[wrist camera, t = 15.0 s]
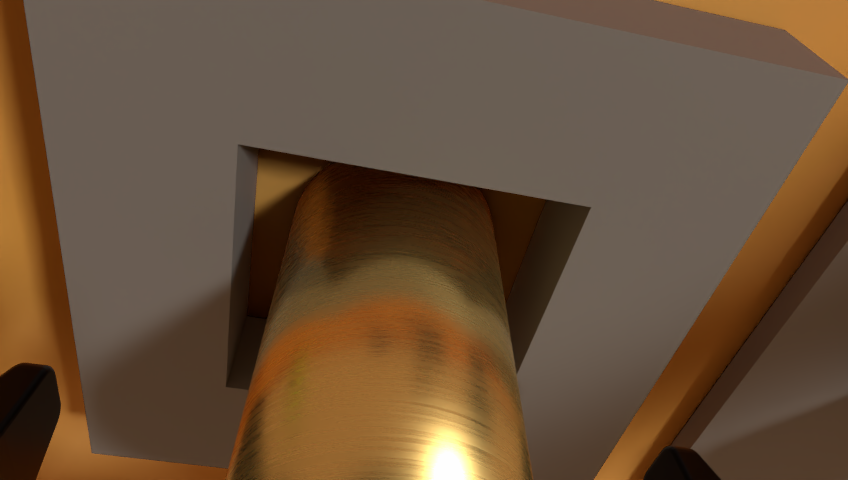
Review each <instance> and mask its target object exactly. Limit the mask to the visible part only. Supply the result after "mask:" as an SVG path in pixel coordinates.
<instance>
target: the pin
mask: <svg viewBox="0 0 848 480" xmlns="http://www.w3.org/2000/svg"><path fill="white" fill-rule="evenodd" d="M225 480H533V475H532V469H531V463H530V456H529V450H528V444H527V437H526V431H525V425H524V418H523V412H522V406H521V399H520V393H519V387H518V380H517V374H516V368H515V361H514V355H513V348H512V342H511V336H510V329H509V323H508V317H507V310H506V304H505V298H504V291H503V285H502V279H501V272H500V266H499V260H498V253H497V247H496V241H495V234H494V228H493V222H492V217H491V213H490V209H489V207H488V204H487V202H486V199H485V198H484V196H483V194H482V193H481V191H480V190H479V188H478V187H474V186H469V185H463V184H458V183H452V182H446V181H441V180H435V179H430V178H424V177H418V176H413V175H407V174H402V173H396V172H390V171H385V170H379V169H374V168H368V167H362V166H357V165H351V164H346V163H340V162H335V163H333V164H331V165H330V166H328V167H327V168H325V169H324V170H322V171H321V172H320V173H319V174H318V175H317V176H316V177H315V178H314V179H313V180H312V181H311V182H310V183H309V185H308V186H307V187H306V188H305V190H304V192H303V194H302V195H301V197H300V199H299V202H298V204H297V207H296V210H295V214H294V218H293V222H292V226H291V229H290V233H289V237H288V241H287V245H286V249H285V252H284V256H283V260H282V264H281V268H280V272H279V275H278V279H277V283H276V287H275V291H274V295H273V299H272V302H271V306H270V310H269V314H268V318H267V322H266V325H265V329H264V333H263V337H262V341H261V345H260V348H259V352H258V356H257V360H256V364H255V368H254V372H253V375H252V379H251V383H250V387H249V391H248V395H247V398H246V402H245V406H244V410H243V414H242V418H241V421H240V425H239V429H238V433H237V437H236V441H235V444H234V448H233V452H232V456H231V460H230V464H229V468H228V471H227V475H226V479H225Z"/></svg>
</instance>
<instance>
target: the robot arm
mask: <svg viewBox="0 0 848 480" xmlns="http://www.w3.org/2000/svg"><path fill="white" fill-rule="evenodd" d="M60 409H61V403H60V397H59V392H58V386H57V381H56V376H55V372H54V370H53V368H52V367H50V366H47V365H40V364H32V363H20V364H17V365H15V366H14V367H12V368H11V369H9V370H8V371H6V372H5V373H4V374H2V375H1V376H0V480H36V478H37V475H38V472H39V470H40V467H41V464H42V462H43V459H44V456H45V454H46V451H47V448H48V446H49V443H50V440H51V438H52V435H53V432H54V430H55V427H56V424H57V422H58V419H59V415H60ZM644 480H721V479H720V478H719V476H718V475H717V474H716V473H715V472H714V471H713V470H712V468H711V467H710V466H709V465H708V464H707V463H706V462H705V461H704V459H703V458H702V457H701V456H700V455H699V454H698V453H697V452H696V451H694V450H693V449H690V448H686V447H678V446H667V447H665V448H664V449H663V450H662V451H661V453H660V454H659V456H658V457H657V458H656V460H655V461H654V463H653V464H652V465H651V467H650V468H649V470H648V471H647V472H646V474H645V477H644Z"/></svg>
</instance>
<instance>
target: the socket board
mask: <svg viewBox="0 0 848 480" xmlns="http://www.w3.org/2000/svg"><path fill="white" fill-rule="evenodd" d="M23 1H24V8H25V14H26V21H27V28H28V34H29V41H30V48H31V54H32V61H33V67H34V74H35V81H36V87H37V94H38V100H39V107H40V114H41V120H42V127H43V134H44V140H45V147H46V153H47V160H48V167H49V173H50V180H51V187H52V193H53V200H54V206H55V213H56V220H57V226H58V233H59V239H60V246H61V253H62V259H63V266H64V273H65V279H66V286H67V292H68V299H69V306H70V312H71V319H72V325H73V332H74V339H75V345H76V352H77V359H78V365H79V372H80V378H81V385H82V392H83V398H84V405H85V412H86V418H87V425H88V431H89V438H90V445H91V451H92V453H95V454H104V455H113V456H121V457H130V458H139V459H148V460H157V461H166V462H174V463H183V464H192V465H201V466H210V467H219V468H227V469H228V468H229V464H230V460H231V456H232V452H233V448H234V444H235V441H236V437H237V433H238V429H239V425H240V421H241V418H242V414H243V410H244V406H245V402H246V398H247V395H248V391H249V387H250V383H251V379H252V375H253V372H254V368H255V364H256V360H257V356H258V352H259V348H260V345H261V341H262V337H263V333H264V329H265V325H266V322H267V319H263V318H256V317H249V316H247V308H248V294H249V279H250V265H251V251H252V237H253V223H254V209H255V195H256V181H257V166H258V152H259V148H262V149H267V150H273V151H278V152H284V153H290V154H295V155H301V156H306V157H312V158H318V159H323V160H329V161H334V162H340V163H346V164H351V165H357V166H362V167H368V168H374V169H379V170H385V171H390V172H396V173H402V174H407V175H413V176H418V177H424V178H430V179H435V180H441V181H446V182H452V183H458V184H463V185H469V186H474V187H480V188H486V189H491V190H497V191H502V192H508V193H514V194H519V195H525V196H530V197H536V198H542V199H547V200H546V203H545V205H544V208H543V210H542V213H541V216H540V218H539V221H538V223H537V226H536V228H535V231H534V233H533V236H532V239H531V241H530V244H529V246H528V249H527V251H526V254H525V256H524V259H523V262H522V264H521V267H520V269H519V272H518V274H517V277H516V279H515V282H514V284H513V287H512V290H511V292H510V295H509V297H508V300H507V302H506V310H507V317H508V323H509V329H510V336H511V342H512V348H513V355H514V361H515V368H516V374H517V380H518V387H519V393H520V399H521V406H522V412H523V418H524V425H525V431H526V437H527V444H528V450H529V456H530V463H531V469H532V475H533V480H594V478H595V477H596V475H597V473H598V472H599V470H600V469H601V467H602V466H603V464H604V463H605V461H606V459H607V458H608V456H609V455H610V453H611V452H612V450H613V449H614V447H615V445H616V444H617V442H618V441H619V439H620V438H621V436H622V434H623V433H624V431H625V430H626V428H627V427H628V425H629V424H630V422H631V420H632V419H633V417H634V416H635V414H636V413H637V411H638V410H639V408H640V406H641V405H642V403H643V402H644V400H645V399H646V397H647V395H648V394H649V392H650V391H651V389H652V388H653V386H654V385H655V383H656V381H657V380H658V378H659V377H660V375H661V374H662V372H663V370H664V369H665V367H666V366H667V364H668V363H669V361H670V360H671V358H672V356H673V355H674V353H675V352H676V350H677V349H678V347H679V346H680V344H681V342H682V341H683V339H684V338H685V336H686V335H687V333H688V331H689V330H690V328H691V327H692V325H693V324H694V322H695V321H696V319H697V317H698V316H699V314H700V313H701V311H702V310H703V308H704V306H705V305H706V303H707V302H708V300H709V299H710V297H711V296H712V294H713V292H714V291H715V289H716V288H717V286H718V285H719V283H720V282H721V280H722V278H723V277H724V275H725V274H726V272H727V271H728V269H729V267H730V266H731V264H732V263H733V261H734V260H735V258H736V257H737V255H738V253H739V252H740V250H741V249H742V247H743V246H744V244H745V243H746V241H747V239H748V238H749V236H750V235H751V233H752V232H753V230H754V228H755V227H756V225H757V224H758V222H759V221H760V219H761V218H762V216H763V214H764V213H765V211H766V210H767V208H768V207H769V205H770V203H771V202H772V200H773V199H774V197H775V196H776V194H777V193H778V191H779V189H780V188H781V186H782V185H783V183H784V182H785V180H786V179H787V177H788V175H789V174H790V172H791V171H792V169H793V168H794V166H795V164H796V163H797V161H798V160H799V158H800V157H801V155H802V154H803V152H804V150H805V149H806V147H807V146H808V144H809V143H810V141H811V139H812V138H813V136H814V135H815V133H816V132H817V130H818V129H819V127H820V125H821V124H822V122H823V121H824V119H825V118H826V116H827V115H828V113H829V111H830V110H831V108H832V107H833V105H834V104H835V102H836V100H837V99H838V97H839V96H840V94H841V93H842V91H843V90H844V88H845V86H846V85H847V83H848V79H847V78H846V77H844V76H843V75H842V74H841V73H839V72H838V71H837V70H835V69H834V68H833V67H832V66H830V65H829V64H828V63H826V62H825V61H824V60H823V59H821V58H820V57H819V56H817V55H816V54H815V53H814V52H812V51H811V50H810V49H808V48H807V47H806V46H805V45H803V44H802V43H801V42H799V41H798V40H797V39H796V38H794V37H793V36H792V35H790V34H789V33H788V32H787V31H785V30H782V29H777V28H773V27H769V26H764V25H760V24H755V23H751V22H747V21H742V20H738V19H733V18H729V17H724V16H720V15H716V14H711V13H707V12H702V11H698V10H694V9H689V8H685V7H680V6H676V5H671V4H667V3H663V2H658V1H654V0H23Z"/></svg>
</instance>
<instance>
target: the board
mask: <svg viewBox="0 0 848 480" xmlns="http://www.w3.org/2000/svg"><path fill="white" fill-rule="evenodd" d="M671 446H678V447H686V448H690V449H693V450H694V451H696V452H697V453H698V454H699V455H700V456H701V457H702V458H703V459H704V461H705V462H706V463H707V464H708V465H709V466H710V467H711V468H712V470H713V471H714V472H715V473H716V474H717V475H718V476H719V478H720V479H721V480H848V201H847V202H846V204H845V205H844V207H843V208H842V209H841V211H840V212H839V214H838V215H837V216H836V218H835V219H834V220H833V222H832V223H831V225H830V226H829V227H828V229H827V230H826V232H825V233H824V234H823V236H822V237H821V238H820V240H819V241H818V243H817V244H816V245H815V247H814V248H813V249H812V251H811V252H810V254H809V255H808V256H807V258H806V259H805V261H804V262H803V263H802V265H801V266H800V267H799V269H798V270H797V272H796V273H795V274H794V276H793V277H792V278H791V280H790V281H789V283H788V284H787V285H786V287H785V288H784V290H783V291H782V292H781V294H780V295H779V296H778V298H777V299H776V301H775V302H774V303H773V305H772V306H771V307H770V309H769V310H768V312H767V313H766V314H765V316H764V317H763V319H762V320H761V321H760V323H759V324H758V325H757V327H756V328H755V330H754V331H753V332H752V334H751V335H750V336H749V338H748V339H747V341H746V342H745V343H744V345H743V346H742V348H741V349H740V350H739V352H738V353H737V354H736V356H735V357H734V359H733V360H732V361H731V363H730V364H729V365H728V367H727V368H726V370H725V371H724V372H723V374H722V375H721V377H720V378H719V379H718V381H717V382H716V383H715V385H714V386H713V388H712V389H711V390H710V392H709V393H708V395H707V396H706V397H705V399H704V400H703V401H702V403H701V404H700V406H699V407H698V408H697V410H696V411H695V412H694V414H693V415H692V417H691V418H690V419H689V421H688V422H687V424H686V425H685V426H684V428H683V429H682V430H681V432H680V433H679V435H678V436H677V437H676V439H675V440H674V441H673V443H672V444H671Z"/></svg>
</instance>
